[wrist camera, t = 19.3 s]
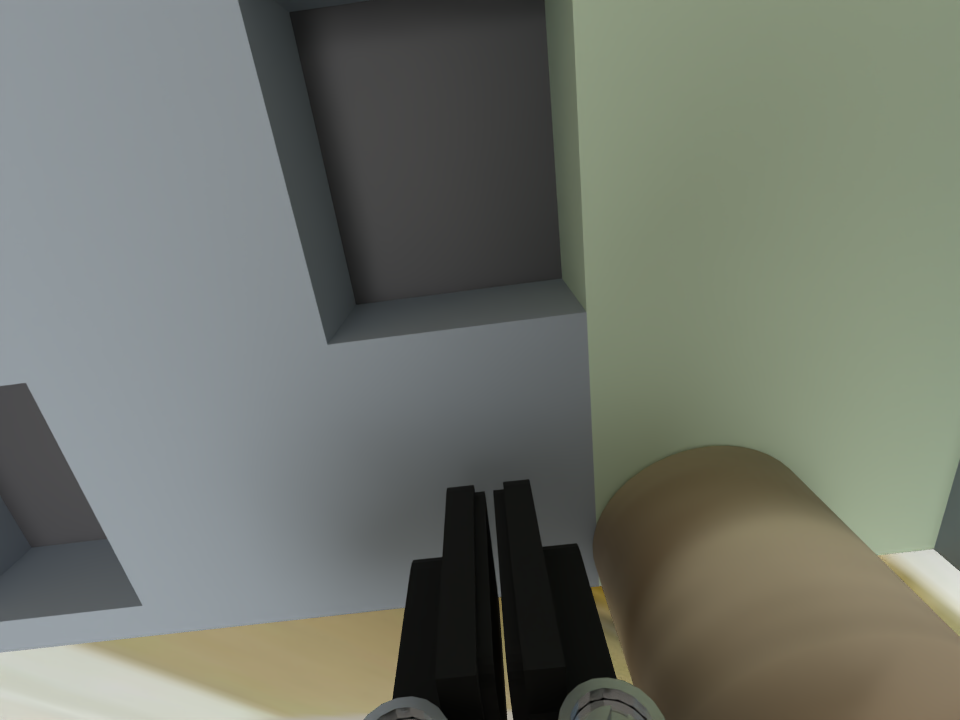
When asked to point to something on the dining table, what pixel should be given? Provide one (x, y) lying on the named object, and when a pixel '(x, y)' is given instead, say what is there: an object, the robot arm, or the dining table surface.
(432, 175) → the board
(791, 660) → the tan short rounded piece
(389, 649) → the dining table surface
